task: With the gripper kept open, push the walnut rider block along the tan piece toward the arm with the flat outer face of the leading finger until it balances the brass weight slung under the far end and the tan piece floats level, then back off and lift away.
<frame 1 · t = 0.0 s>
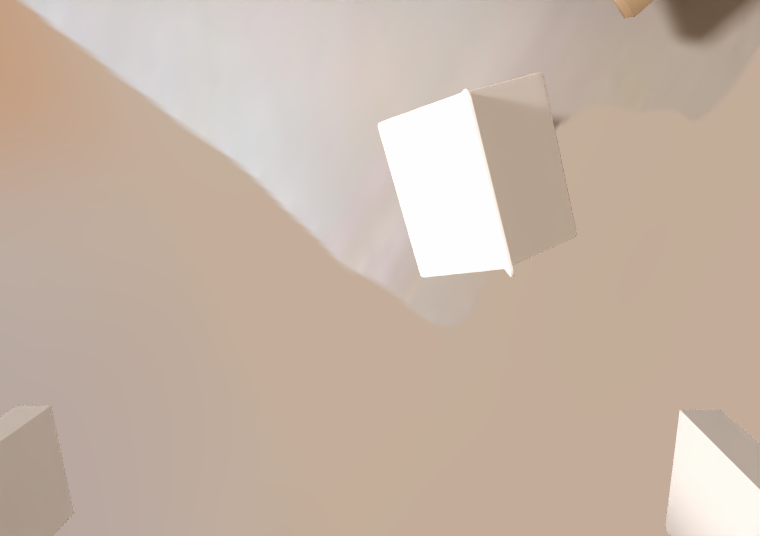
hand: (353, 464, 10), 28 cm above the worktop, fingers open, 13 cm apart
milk: (446, 163, 36), on the worktop
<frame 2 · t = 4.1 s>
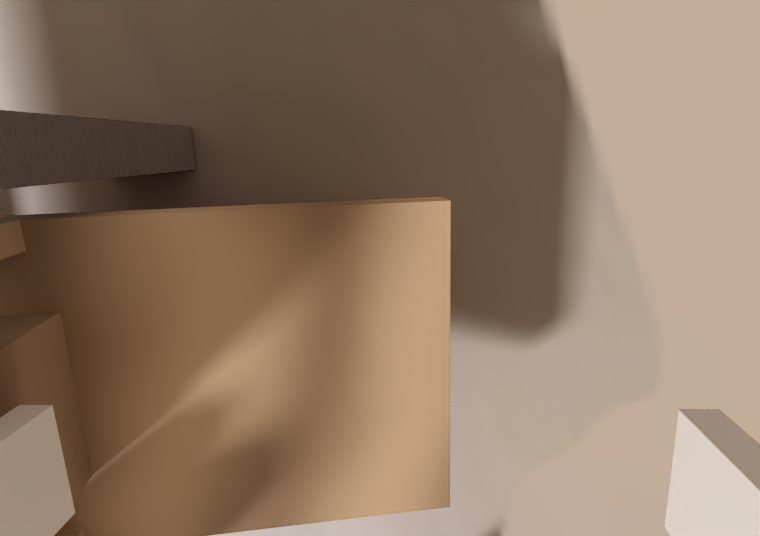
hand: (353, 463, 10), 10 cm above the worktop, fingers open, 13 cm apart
tan piece: (46, 383, 15), point 6 cm above the worktop, hinge at 11.5°, touching rider
fulcrum: (171, 312, 21), on the worktop
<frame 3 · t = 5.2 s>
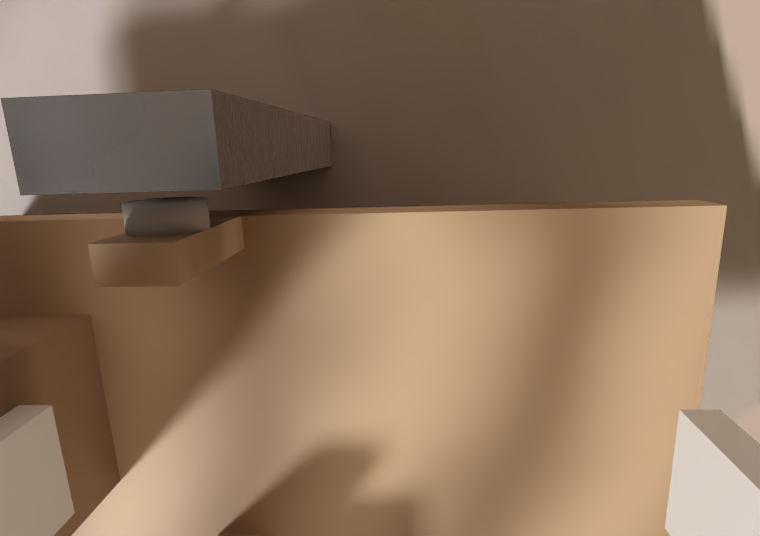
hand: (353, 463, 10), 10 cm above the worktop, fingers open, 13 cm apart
tan piece: (244, 383, 14), point 6 cm above the worktop, hinge at 0.0°, touching rider
fulcrum: (297, 311, 20), on the worktop
rider: (20, 400, 14), point 7 cm above the worktop, touching tan piece, gripper
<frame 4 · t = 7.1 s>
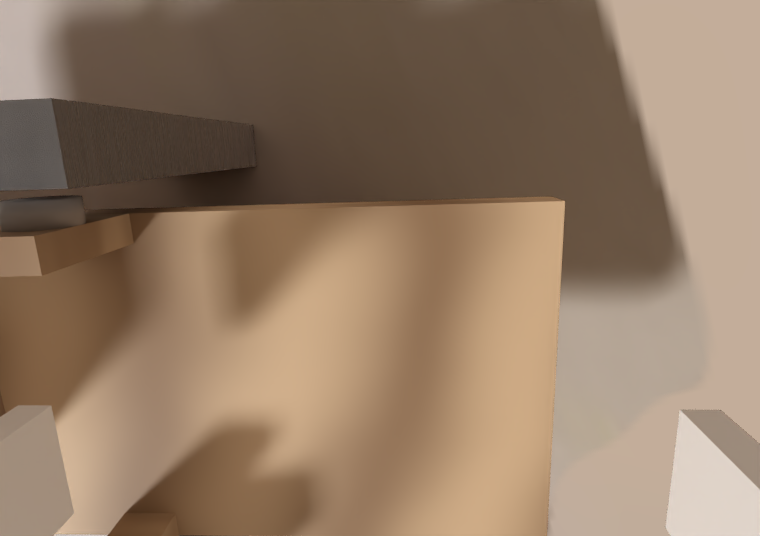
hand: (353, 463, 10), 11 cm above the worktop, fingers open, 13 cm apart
tan piece: (148, 371, 15), point 6 cm above the worktop, hinge at 1.5°, touching rider
fulcrum: (228, 306, 21), on the worktop
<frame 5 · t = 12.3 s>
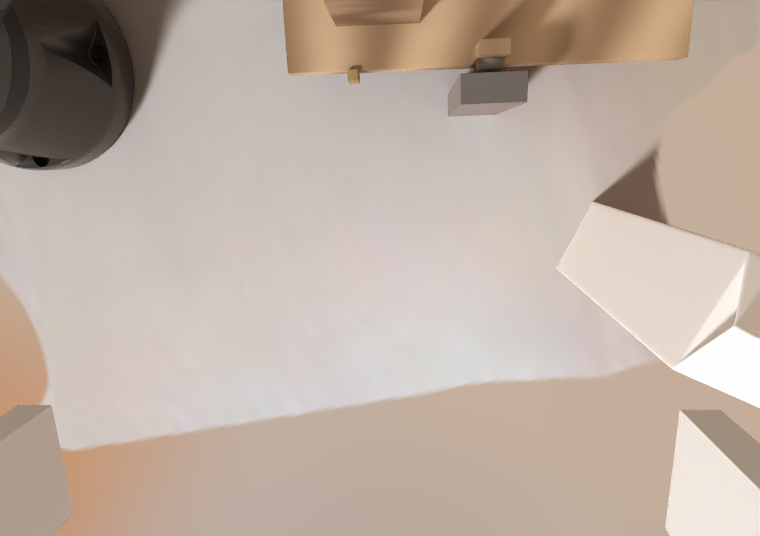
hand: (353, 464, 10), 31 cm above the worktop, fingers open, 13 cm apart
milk: (606, 249, 40), on the worktop
fulcrum: (472, 7, 36), on the worktop
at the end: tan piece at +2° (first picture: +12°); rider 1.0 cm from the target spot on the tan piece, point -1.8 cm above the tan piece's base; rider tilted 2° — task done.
